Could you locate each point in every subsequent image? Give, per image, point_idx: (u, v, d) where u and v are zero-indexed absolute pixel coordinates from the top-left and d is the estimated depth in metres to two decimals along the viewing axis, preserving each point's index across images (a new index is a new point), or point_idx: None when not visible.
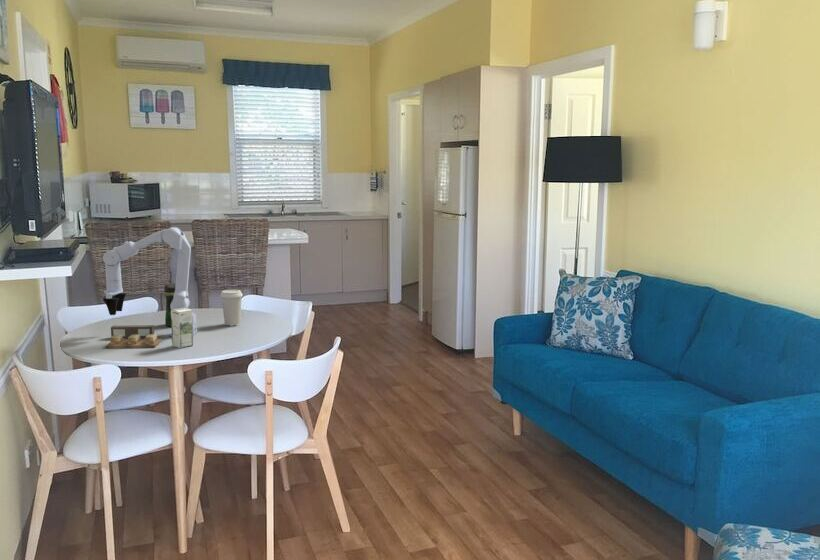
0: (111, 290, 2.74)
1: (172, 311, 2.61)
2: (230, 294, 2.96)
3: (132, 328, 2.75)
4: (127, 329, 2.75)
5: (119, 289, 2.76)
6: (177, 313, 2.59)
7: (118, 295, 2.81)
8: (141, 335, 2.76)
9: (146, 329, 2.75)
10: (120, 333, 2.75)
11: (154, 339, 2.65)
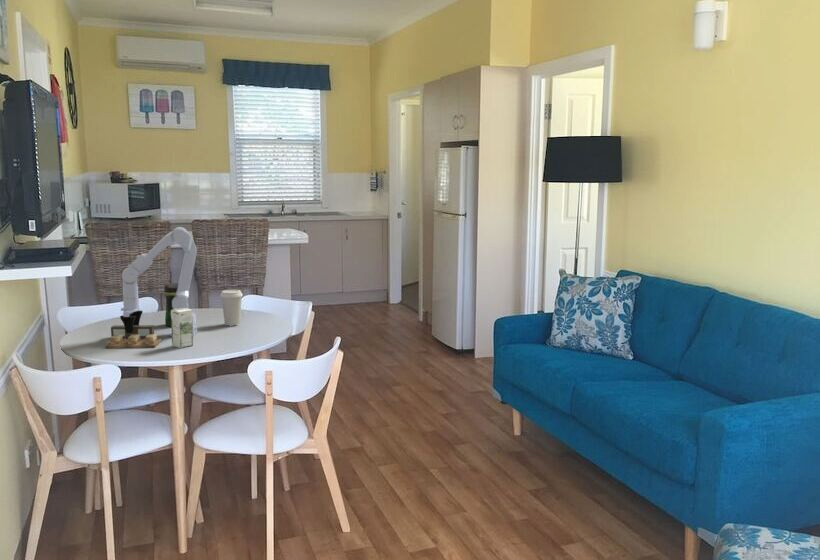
0: (128, 308, 2.72)
1: (172, 311, 2.61)
2: (230, 294, 2.96)
3: None
4: None
5: (136, 307, 2.74)
6: (177, 313, 2.59)
7: (135, 313, 2.79)
8: (141, 335, 2.76)
9: (146, 329, 2.75)
10: (120, 333, 2.75)
11: (154, 339, 2.65)
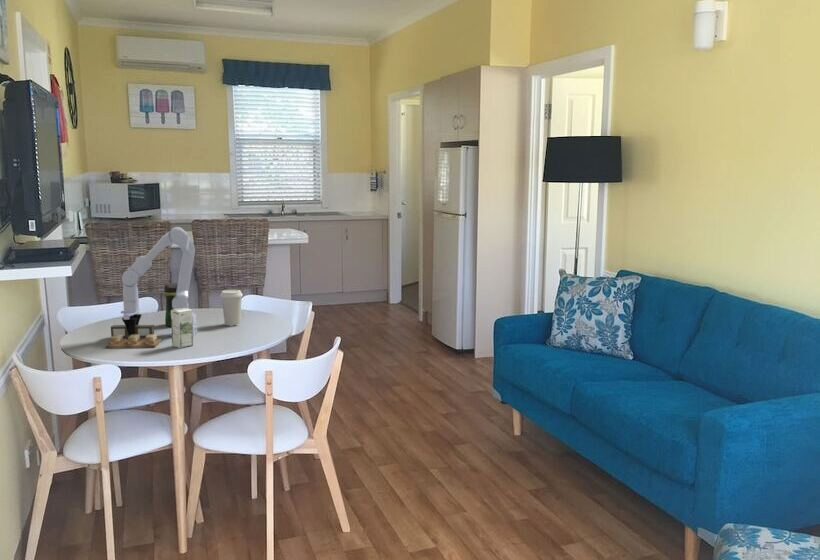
0: (128, 311, 2.72)
1: (172, 311, 2.61)
2: (230, 294, 2.96)
3: None
4: None
5: (136, 310, 2.74)
6: (177, 313, 2.59)
7: (133, 316, 2.77)
8: (141, 335, 2.75)
9: (146, 329, 2.75)
10: (120, 333, 2.75)
11: (154, 339, 2.65)
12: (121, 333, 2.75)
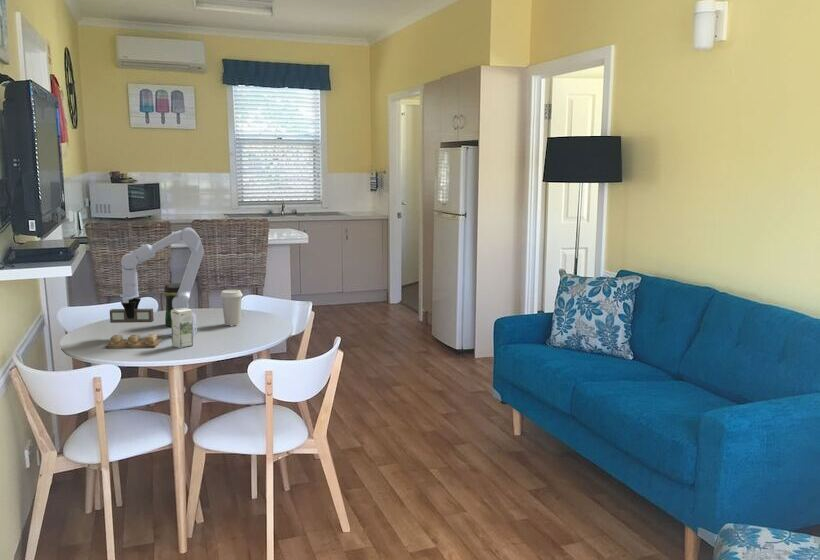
0: (127, 294, 2.71)
1: (172, 311, 2.61)
2: (230, 294, 2.96)
3: None
4: None
5: (135, 293, 2.73)
6: (177, 313, 2.59)
7: (132, 300, 2.76)
8: (140, 318, 2.74)
9: (145, 312, 2.74)
10: (119, 316, 2.74)
11: (154, 339, 2.65)
12: (120, 317, 2.74)
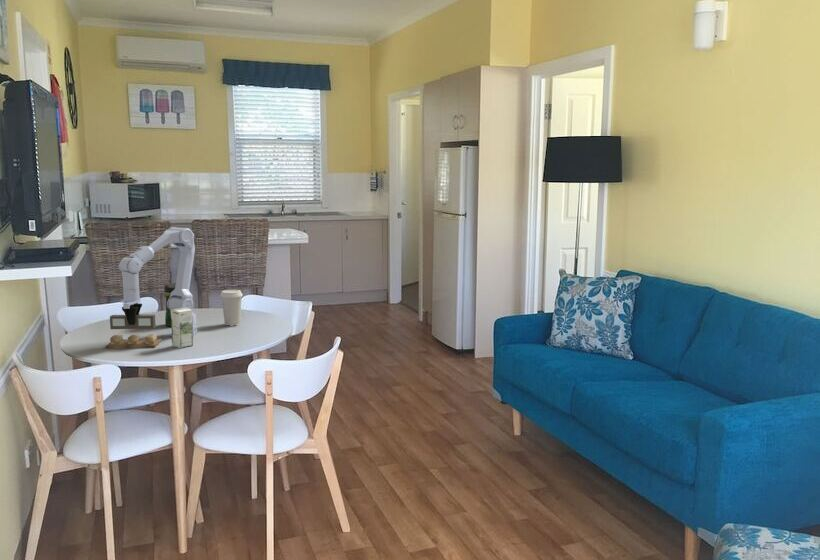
0: (128, 300, 2.60)
1: (172, 311, 2.61)
2: (230, 294, 2.96)
3: None
4: None
5: (137, 299, 2.62)
6: (177, 313, 2.59)
7: (134, 306, 2.65)
8: (142, 325, 2.63)
9: (147, 318, 2.63)
10: (120, 323, 2.62)
11: (154, 339, 2.65)
12: (121, 323, 2.62)
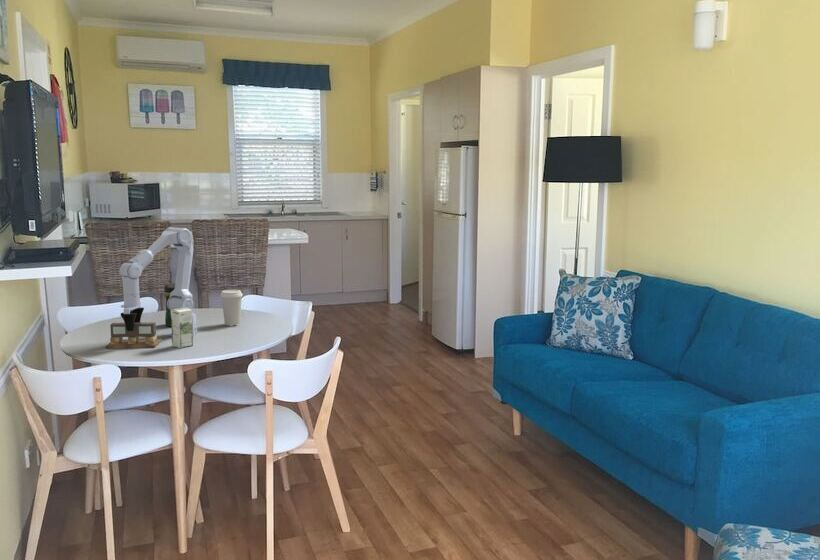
0: (129, 305, 2.60)
1: (172, 311, 2.61)
2: (230, 294, 2.96)
3: None
4: None
5: (137, 304, 2.62)
6: (177, 313, 2.59)
7: (136, 310, 2.67)
8: (142, 333, 2.64)
9: (147, 326, 2.63)
10: (120, 331, 2.63)
11: (154, 339, 2.65)
12: (121, 331, 2.63)
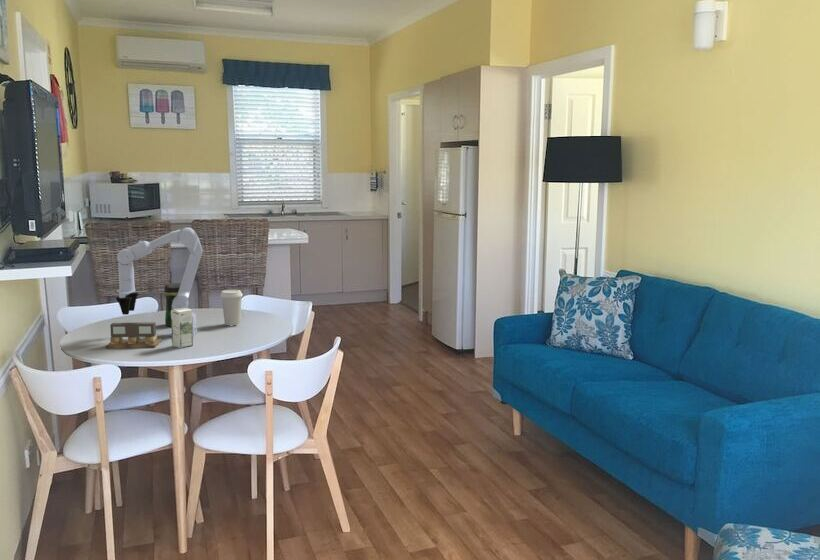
0: (124, 289, 2.72)
1: (172, 311, 2.61)
2: (230, 294, 2.96)
3: (133, 325, 2.63)
4: (127, 326, 2.63)
5: (132, 288, 2.74)
6: (177, 313, 2.59)
7: (130, 294, 2.79)
8: (142, 333, 2.64)
9: (147, 326, 2.63)
10: (120, 331, 2.63)
11: (154, 339, 2.65)
12: (121, 331, 2.63)
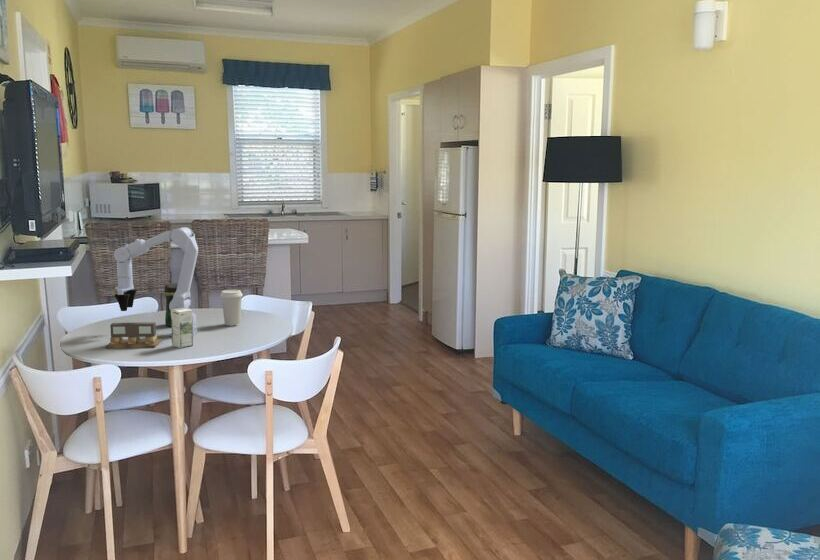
0: (122, 286, 2.78)
1: (172, 311, 2.61)
2: (230, 294, 2.96)
3: (133, 325, 2.63)
4: (127, 326, 2.63)
5: (130, 285, 2.79)
6: (177, 313, 2.59)
7: (129, 291, 2.85)
8: (142, 333, 2.64)
9: (147, 326, 2.63)
10: (120, 331, 2.63)
11: (154, 339, 2.65)
12: (121, 331, 2.63)
